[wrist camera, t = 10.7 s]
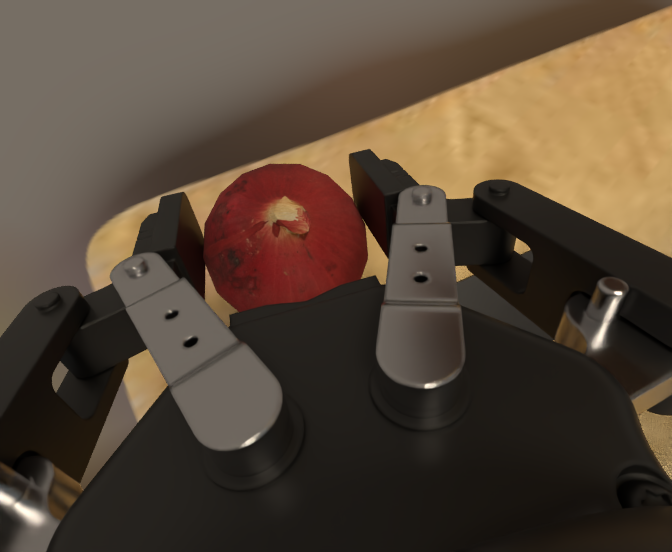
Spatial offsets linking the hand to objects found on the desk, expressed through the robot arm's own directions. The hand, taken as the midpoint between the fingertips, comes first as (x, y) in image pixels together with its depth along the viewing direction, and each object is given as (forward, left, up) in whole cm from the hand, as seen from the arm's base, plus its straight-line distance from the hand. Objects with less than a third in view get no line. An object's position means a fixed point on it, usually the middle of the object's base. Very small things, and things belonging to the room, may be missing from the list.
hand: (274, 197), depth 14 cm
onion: (-1, +2, -4) cm, 5 cm away
